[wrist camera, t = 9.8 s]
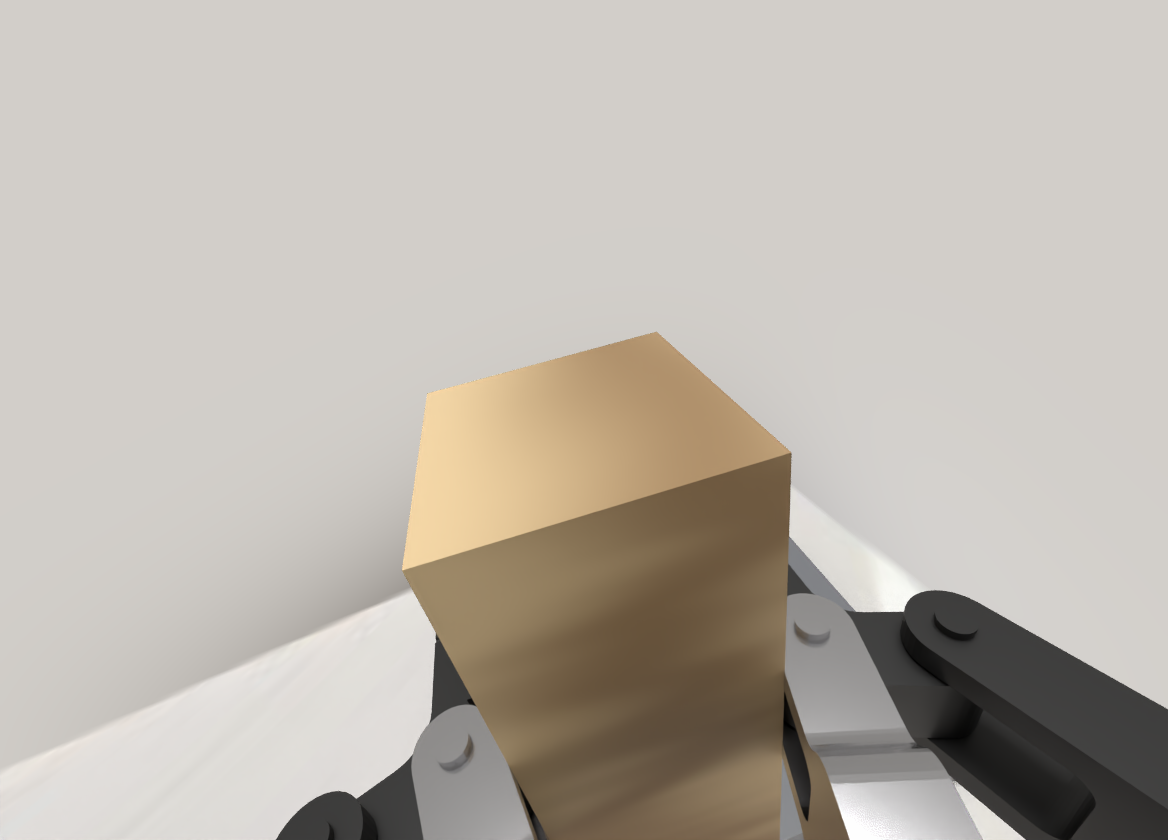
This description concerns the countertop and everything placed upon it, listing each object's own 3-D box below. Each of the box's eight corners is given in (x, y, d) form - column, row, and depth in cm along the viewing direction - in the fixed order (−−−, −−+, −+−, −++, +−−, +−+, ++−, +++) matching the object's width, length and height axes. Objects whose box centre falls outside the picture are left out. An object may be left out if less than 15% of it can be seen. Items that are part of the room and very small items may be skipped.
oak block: (609, 949, 11) (402, 570, 5) (573, 756, 14) (427, 393, 8) (778, 883, 11) (791, 452, 5) (702, 710, 14) (656, 331, 8)
